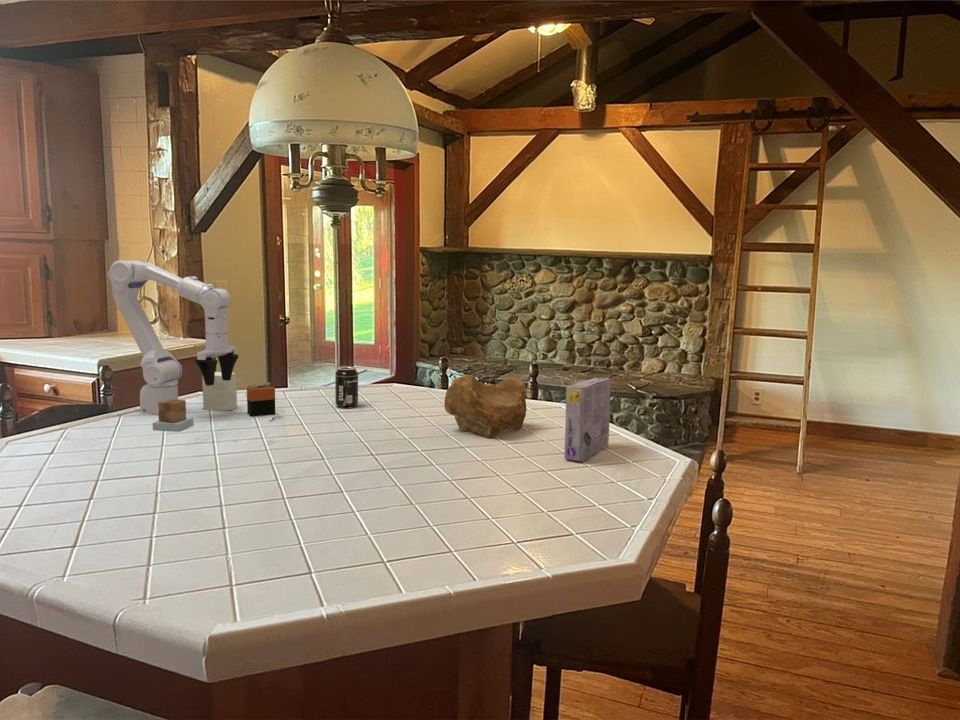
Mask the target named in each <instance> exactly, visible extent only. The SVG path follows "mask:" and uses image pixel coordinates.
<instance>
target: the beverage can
mask: <svg viewBox="0 0 960 720" xmlns="http://www.w3.org/2000/svg"><path fill="white" fill-rule="evenodd" d="M334 376H335V377H334V378H335V380H334V381H335V385H334V386H335V387H334V388H335V389H334V390H335V391H334V393H335V394H334V399H335V400H334V401H335V405H336V407H338V408H340V407H343V408H342V409H350V408H349V407H353V408H355V407H356V406H358V404H359V372H358V371H357V367H356V366H351V365H350V366H349V365H347V366H346V365H343V366H338V367H337V370H336V371H335V374H334Z"/></svg>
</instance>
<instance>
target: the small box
mask: <svg viewBox="0 0 960 720" xmlns="http://www.w3.org/2000/svg"><path fill="white" fill-rule="evenodd" d="M201 381H202V382H201V383H202V404H203V410H204V409H214V410H213V411H221V410H230V411H231V409H232V410H233V408H234V409H235V408H237V407H238V395H237V393H238V392H237V373H236V372H232V376H231V380H229V381H228V380H223V379H222V374H221V371H215V378H214V385H206V384H205V381H204V378H203V375H201Z"/></svg>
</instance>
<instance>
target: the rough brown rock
mask: <svg viewBox="0 0 960 720" xmlns="http://www.w3.org/2000/svg"><path fill="white" fill-rule="evenodd" d="M444 409H445V410H444V411H445V412H446V413H448V414H449V415H451V416H454V419H455V421H456V423H457V426H458V428H459V430H461V431H462V432H469V431H472V433H478V434H480V435H481V436H483V437H484V438H486V439H489V438H492V437H496V436H499V435H500V434H503V433H504V432H507V431H510V430H512V431H519V430H521V428H523V425H524V421H525V419H526V416H527V402H526V384H525V382H524V380H523V379H521V378H520V377H518V376H508V377H506V378H505V379H504V380H502V381H500V382H499V383H496V384H492V383H483V382H480V381H479V380H478V379H477V378H476V376H475V375H473V374H465V375H463V376H461V377H458V378H456V379H455V380H453V381H452V383H451V384H450V385H449V386H448V388H447V389H446V391H445V396H444Z"/></svg>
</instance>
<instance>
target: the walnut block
mask: <svg viewBox="0 0 960 720" xmlns="http://www.w3.org/2000/svg"><path fill="white" fill-rule="evenodd" d="M158 409H159V415H158V420H159V422H167V423H176V422H180V421H183V420H186V418H187V402H186V400H185V399H179V398H178V399H168V400H164V401H161V402H158Z"/></svg>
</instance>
